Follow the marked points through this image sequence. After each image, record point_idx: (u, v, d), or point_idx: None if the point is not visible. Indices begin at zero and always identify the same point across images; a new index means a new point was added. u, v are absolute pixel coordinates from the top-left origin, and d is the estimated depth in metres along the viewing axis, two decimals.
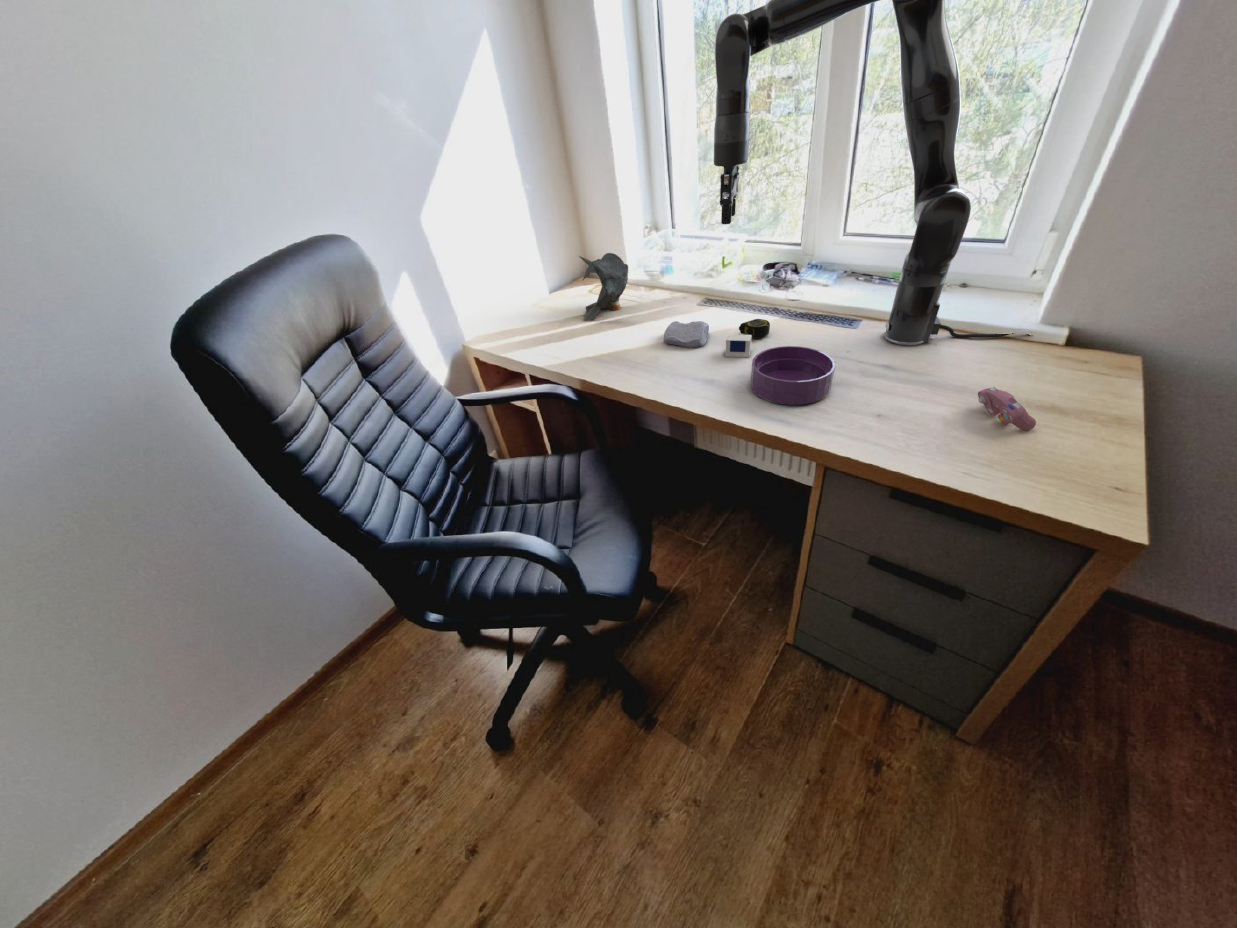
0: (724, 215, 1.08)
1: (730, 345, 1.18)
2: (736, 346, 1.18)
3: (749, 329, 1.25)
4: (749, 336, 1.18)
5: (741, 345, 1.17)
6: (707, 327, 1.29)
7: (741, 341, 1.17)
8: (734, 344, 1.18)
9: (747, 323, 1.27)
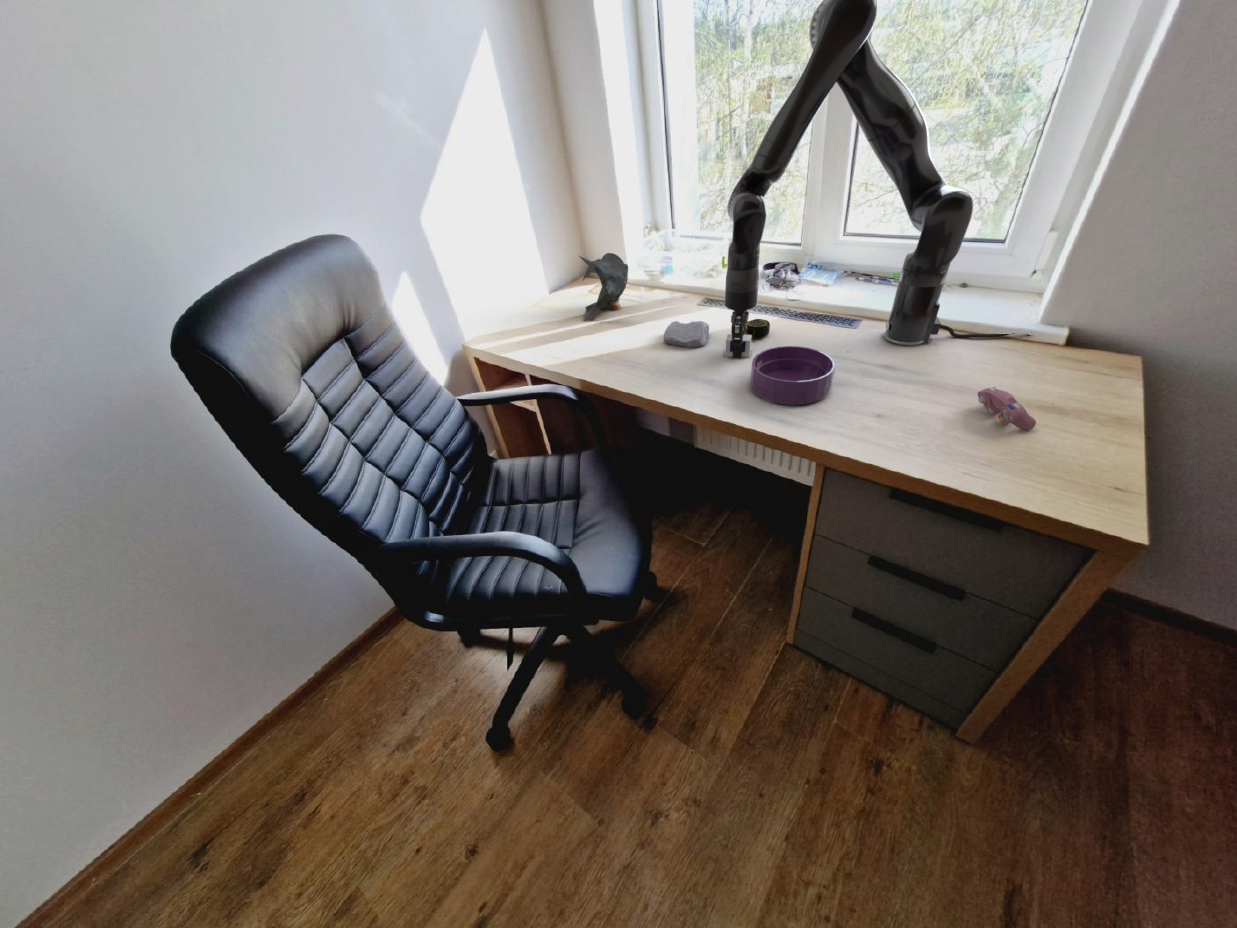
0: (735, 351, 1.17)
1: (730, 345, 1.18)
2: None
3: (749, 329, 1.25)
4: (749, 336, 1.18)
5: None
6: (707, 327, 1.29)
7: None
8: None
9: (747, 323, 1.27)
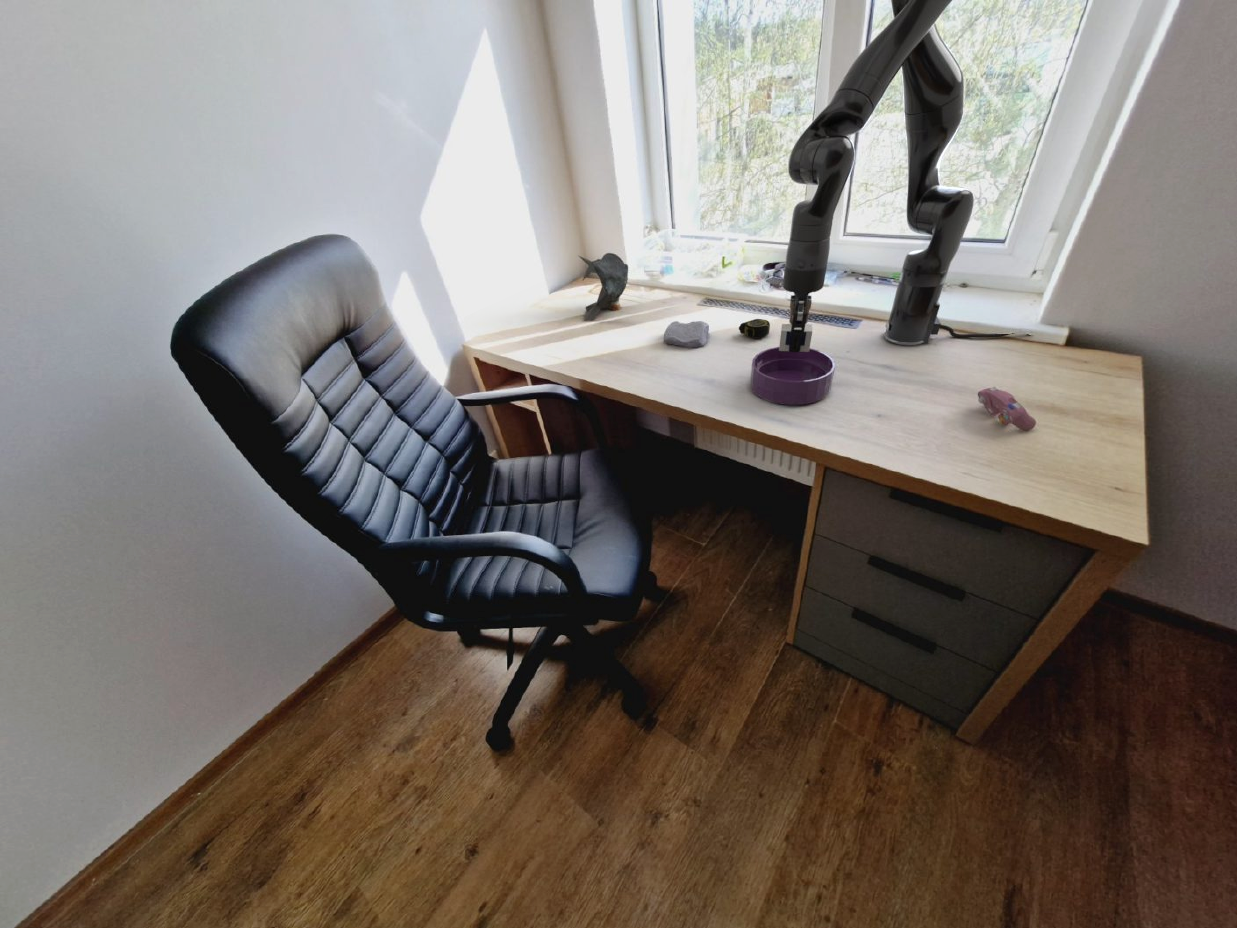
0: (793, 344, 0.96)
1: (786, 337, 0.97)
2: None
3: (749, 329, 1.25)
4: (810, 326, 0.96)
5: None
6: (707, 327, 1.29)
7: None
8: None
9: (747, 323, 1.27)
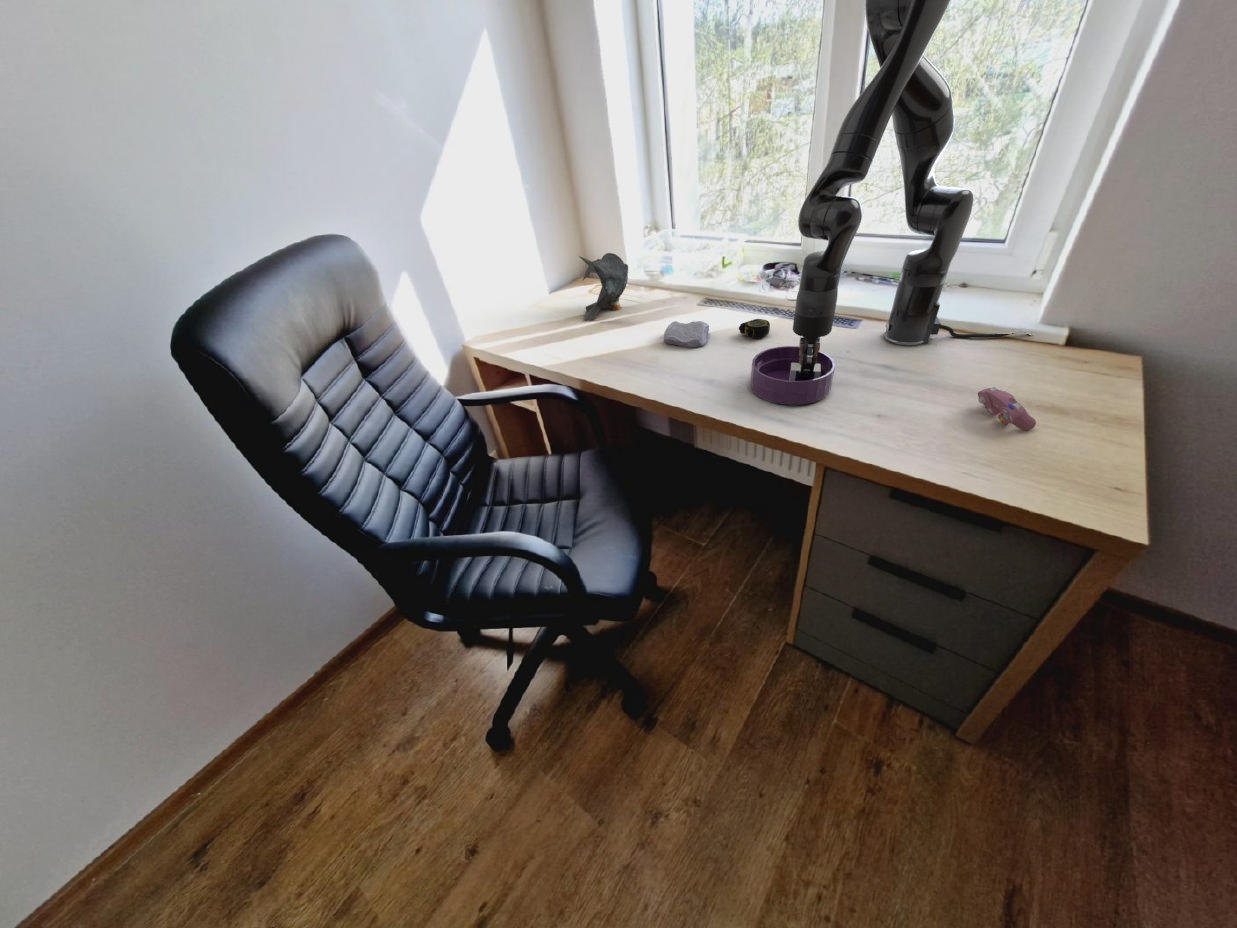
0: None
1: (796, 376, 1.01)
2: None
3: (749, 329, 1.25)
4: (818, 365, 1.01)
5: None
6: (707, 327, 1.29)
7: None
8: None
9: (747, 323, 1.27)
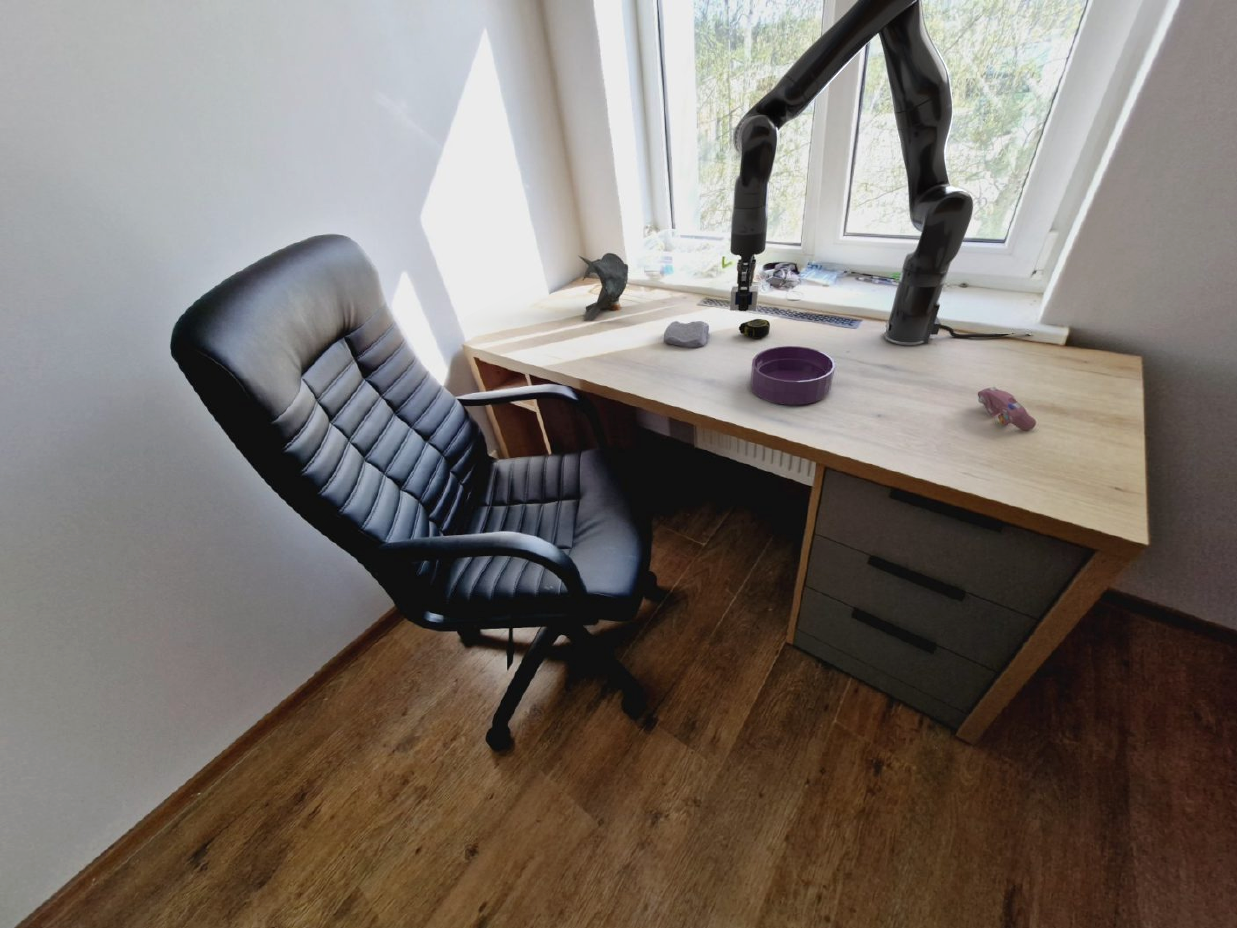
0: (741, 303, 1.08)
1: (735, 297, 1.09)
2: None
3: (749, 329, 1.25)
4: (756, 287, 1.09)
5: None
6: (707, 327, 1.29)
7: None
8: None
9: (747, 323, 1.27)
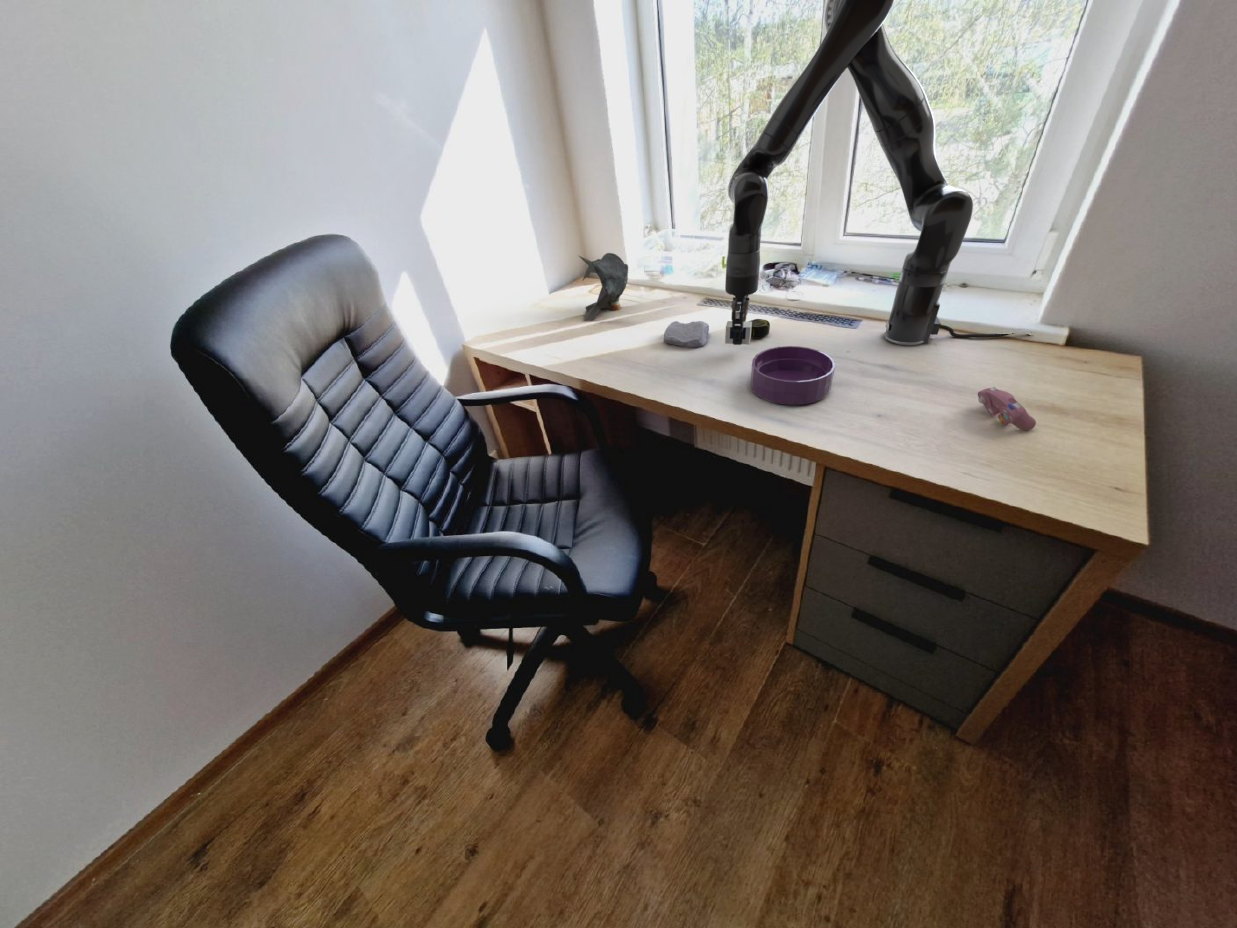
0: (735, 338, 1.15)
1: (730, 332, 1.16)
2: None
3: None
4: (749, 323, 1.16)
5: None
6: (707, 327, 1.29)
7: None
8: None
9: None
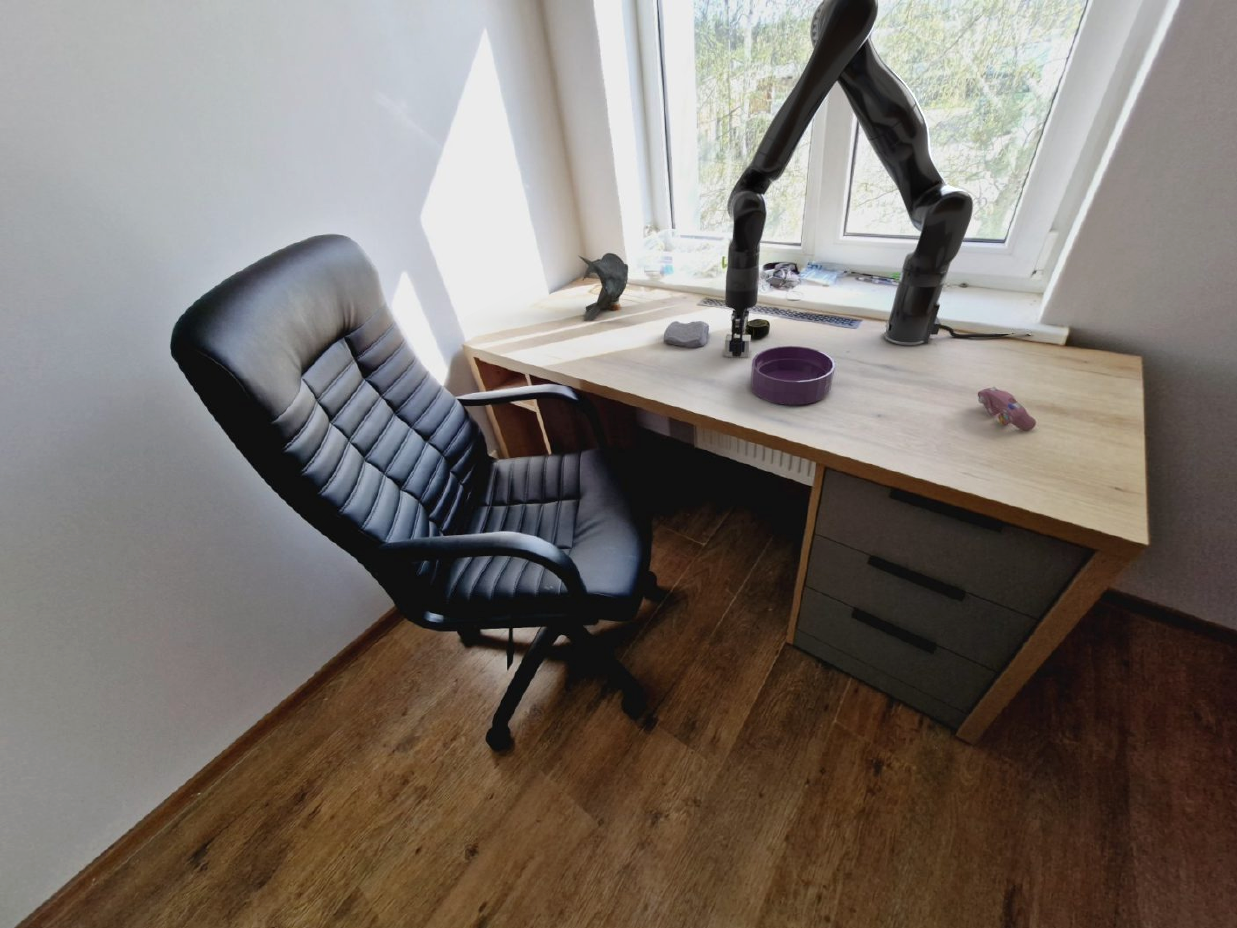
0: (735, 350, 1.15)
1: (729, 345, 1.18)
2: None
3: (749, 329, 1.25)
4: (748, 336, 1.18)
5: None
6: (707, 327, 1.29)
7: None
8: None
9: (747, 323, 1.27)
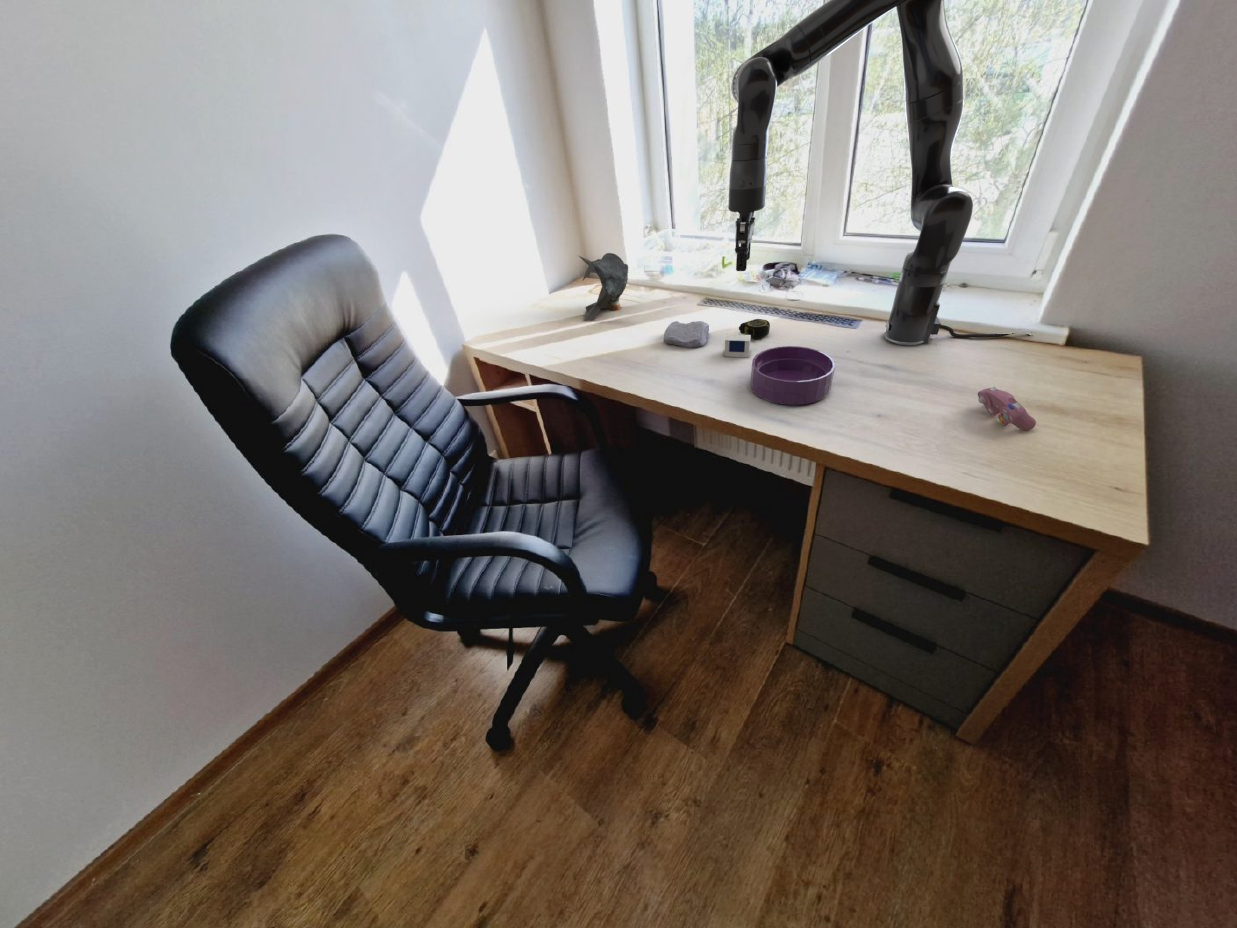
0: (739, 262, 1.02)
1: (729, 345, 1.18)
2: (735, 346, 1.18)
3: (749, 329, 1.25)
4: (748, 336, 1.18)
5: (741, 345, 1.17)
6: (707, 327, 1.29)
7: (740, 341, 1.17)
8: (733, 344, 1.18)
9: (747, 323, 1.27)
